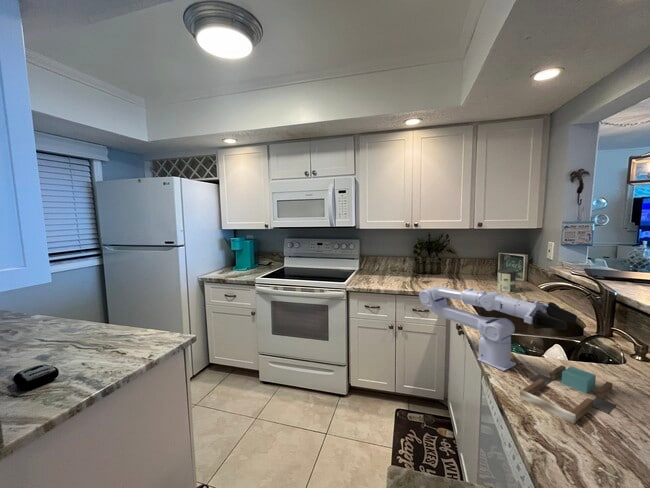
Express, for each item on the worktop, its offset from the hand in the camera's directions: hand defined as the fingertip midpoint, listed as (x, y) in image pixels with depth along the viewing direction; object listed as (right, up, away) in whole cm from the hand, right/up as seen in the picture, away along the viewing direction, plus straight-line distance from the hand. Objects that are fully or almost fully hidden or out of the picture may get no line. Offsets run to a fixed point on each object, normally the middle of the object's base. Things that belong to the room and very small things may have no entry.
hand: (571, 322), depth 82 cm
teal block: (+6, -21, +5) cm, 22 cm away
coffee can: (+50, -9, +106) cm, 118 cm away
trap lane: (0, -21, +1) cm, 21 cm away
